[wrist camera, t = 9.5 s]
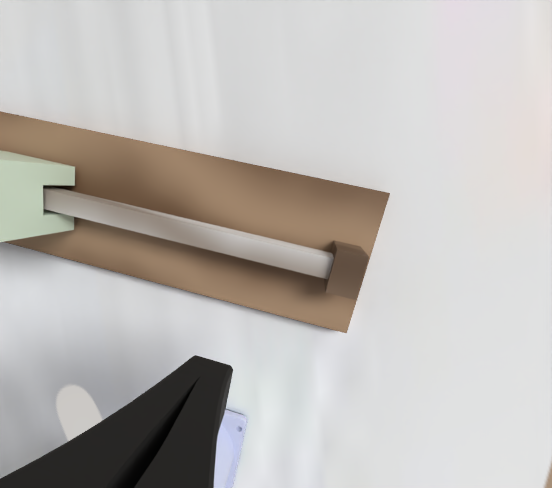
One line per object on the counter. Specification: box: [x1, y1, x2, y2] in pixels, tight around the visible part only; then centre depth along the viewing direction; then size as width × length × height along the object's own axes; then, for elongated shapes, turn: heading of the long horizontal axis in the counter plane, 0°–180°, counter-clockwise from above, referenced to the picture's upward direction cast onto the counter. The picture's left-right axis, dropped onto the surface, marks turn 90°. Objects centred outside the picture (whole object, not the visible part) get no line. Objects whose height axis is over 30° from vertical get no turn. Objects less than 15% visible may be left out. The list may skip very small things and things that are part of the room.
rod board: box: [0, 112, 390, 333], centre depth 16 cm, size 9×28×4 cm, turn 78°
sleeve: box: [0, 151, 75, 242], centre depth 15 cm, size 4×5×4 cm
